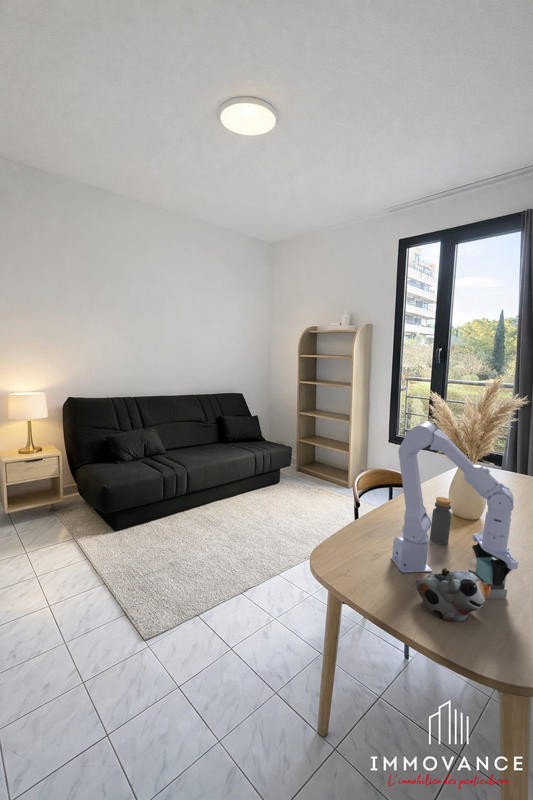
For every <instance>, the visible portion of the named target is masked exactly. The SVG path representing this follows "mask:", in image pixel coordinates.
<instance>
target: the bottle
mask: <svg viewBox="0 0 533 800" xmlns="http://www.w3.org/2000/svg"><path fill="white" fill-rule="evenodd" d="M435 500H436V501H435V503H434V508H433V510H432V515H431V516H432V517H431V527H430V531H429V533H430V534H429V540H430V541H432V542H433V543H435V544H437V545H448V544H449V540H450V539H449V537H450V530H451V521H452V512H451V511H450V510H452V505H451V503H452V500H451V499H449V498H448V497H443V496H436V497H435Z"/></svg>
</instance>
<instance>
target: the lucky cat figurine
mask: <svg viewBox="0 0 533 800" xmlns="http://www.w3.org/2000/svg"><path fill="white" fill-rule="evenodd" d="M491 586H492V584H489V583H484V582H482V581H481V580H480V579H479V578H478V577H477V576H475V575H474V574H473V573H471V572H468V570H454V571H451V572H450V569H449V568H448V567H444V568H442V569H441V573H438V572H437V573H436V572H435V573H429V574H428V575H427V576H426V577H425V578H423V579H416V580H415V587H416V590H417V592H418V594H419V595H420V597H421V599H422V602H423V603H424V605H425V606H426V607H427V608H428V609H429V611H430V613H433V614H436V615H438V616H439V618H440V619H441V620H442V621H447V622H464V621H465V620H466V619H467V618H468V617H469V615H470V613H472V612H474V611H475V612H476V611H477V610H480V609H481V608H482V607H483V604H484V602H486V600H487V599H486V598H487V597H488V596H489V594H490V590H491Z"/></svg>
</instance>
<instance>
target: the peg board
mask: <svg viewBox="0 0 533 800" xmlns="http://www.w3.org/2000/svg"><path fill="white" fill-rule="evenodd" d="M483 532H484V529H481V530H480V533H479V534H481V535H482V536H483ZM492 557H494V558H495V559H497V560H498V558H497V557H496V556H494V555H492ZM476 563H477V559H476V555H475V552H474V551H473V554H472V556H471V560H470V564H469V567H468V570H467V572H471V573H473V574H474V575H475V571H476Z"/></svg>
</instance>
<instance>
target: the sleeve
mask: <svg viewBox="0 0 533 800" xmlns="http://www.w3.org/2000/svg"><path fill="white" fill-rule="evenodd" d="M490 560H497V559H495V558H494V557H484V558H477V563H476V571H475V576H477V577H478V578H479V579H480V580H481V581H482V582H484V583H489V584H492V586H491V589H503V588H504V587H505V585H506V580H507V579H506V578H507V576H506V577H505V579H504V581H503V583H502V585H499V586H495V585H493V581H492V578H493V569H492V564H491V562H490ZM505 588H506V587H505Z"/></svg>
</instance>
